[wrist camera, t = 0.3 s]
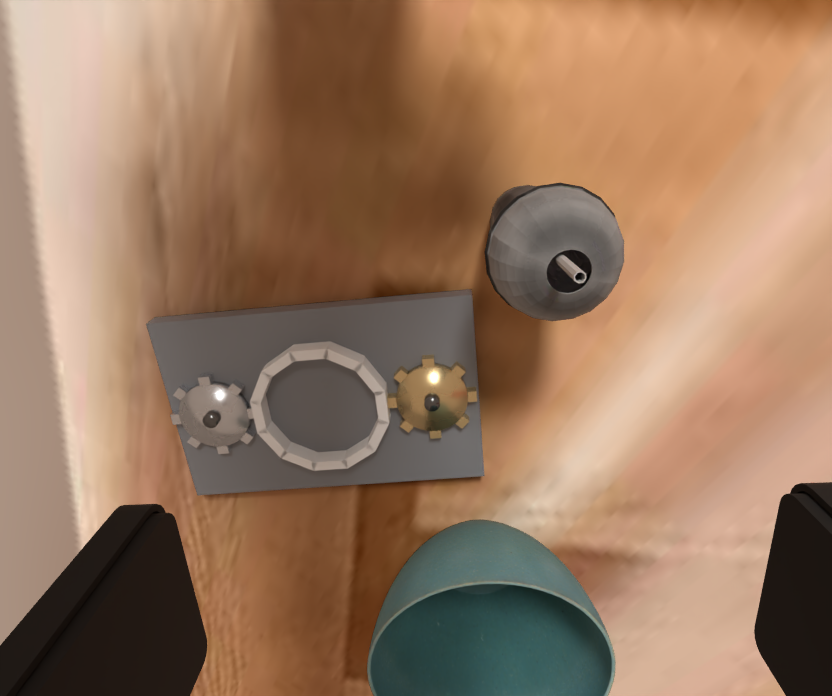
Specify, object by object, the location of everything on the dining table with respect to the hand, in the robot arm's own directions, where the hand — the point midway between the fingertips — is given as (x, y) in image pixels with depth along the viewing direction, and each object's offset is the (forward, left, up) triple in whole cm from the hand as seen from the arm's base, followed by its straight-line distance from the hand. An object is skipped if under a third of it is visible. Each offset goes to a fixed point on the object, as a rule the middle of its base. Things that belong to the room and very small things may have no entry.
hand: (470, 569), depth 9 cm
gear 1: (+14, -20, -33) cm, 41 cm away
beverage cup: (+1, +6, -35) cm, 35 cm away
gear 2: (+14, -2, -33) cm, 36 cm away
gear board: (+14, -11, -35) cm, 39 cm away
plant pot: (+32, +1, -35) cm, 47 cm away
